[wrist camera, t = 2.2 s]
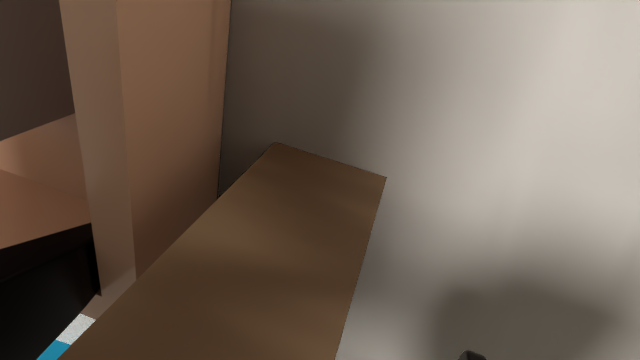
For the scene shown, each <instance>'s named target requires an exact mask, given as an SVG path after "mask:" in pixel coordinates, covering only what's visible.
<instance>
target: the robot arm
mask: <svg viewBox="0 0 640 360" xmlns="http://www.w3.org/2000/svg"><path fill="white" fill-rule="evenodd" d="M100 288H101V286H100V279H99V273H98V266H97V259H96V252H95V245H94V238H93V231H92V224H91V222H90V223H87V224H83V225H80V226H77V227H73V228H70V229H66V230H63V231H60V232H56V233H53V234H49V235H46V236H42V237H39V238H36V239H32V240H29V241H25V242H22V243H19V244H15V245H12V246H8V247H5V248H2V249H0V360H37V359H38V358H39V357H40V355H41V354H42V353H43V352H44V351H45V350H46V349H47V348H48V347H49V346H50V345H51V344H52V343H53V342H54V340H55V339H56V338H57V337H58V336H59V335H60V334H61V333H62V332H63V331H64V330H65V329H66V328H67V327H68V325H69V324H70V323H71V322H72V321H73V320H74V319H75V318H76V317H77V316H78V315H79V314H80V313H81V311H82V310H83V309H84V308H85V307H86V306H87V305H88V303H89V302H90V301H91V300H92V299H93V297H94V296H95V295H96V293H97V292H98V291H99V290H100ZM458 360H486V358H485V357H484V356H482V355H480V354H477V353H474V352H472V351H469V350H465V351H464V352H463V353H462V354H461V356H460V357H459V359H458Z"/></svg>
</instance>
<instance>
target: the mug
mask: <svg viewBox="0 0 640 360" xmlns="http://www.w3.org/2000/svg"><path fill="white" fill-rule="evenodd" d="M70 346H71V345H69V344H66V343H63V342H60V341H57V340H54V342H53V343H52V344H51V345H50V346H49V347H48V348H47V349H46V350H45V351H44V352H43V353H42V354H41V355H40V357H39V358H38V359H37V360H57V359H58V358H59V357H60V356H61V355H62V354H63V353H64V352H65V351H66V350H67V349H68V348H69V347H70Z"/></svg>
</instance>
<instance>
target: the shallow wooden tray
mask: <svg viewBox="0 0 640 360" xmlns="http://www.w3.org/2000/svg"><path fill="white" fill-rule="evenodd" d="M230 7H231V0H0V249H2V248H5V247H8V246H12V245H15V244H19V243H22V242H25V241H29V240H32V239H36V238H39V237H42V236H46V235H49V234H53V233H56V232H60V231H63V230H66V229H70V228H73V227H77V226H80V225H83V224H87V223H90V222H91V224H92V231H93V238H94V245H95V252H96V259H97V266H98V273H99V279H100V286H101V288H100V290H99V291H98V292H97V293H96V295H95V296H94V297H93V299H92V300H91V301H90V302H89V303H88V305H87V306H86V307H85V308H84V309H83V310H82V311H81V314H84V315H86V316H88V317H91V318H93V319H96V320H97V319H98V318H99V317H100V316H101V315H102V314H103V313H104V312H105V311H106V310H107V309H108V308H109V307H110V306H111V305H112V304H113V303H114V302H115V301H116V300H117V299H118V298H119V297H120V296H121V295H122V294H123V293H124V292H125V291H126V290H127V289H128V288H129V287H130V286H131V285H132V284H133V283H134V282H135V281H136V280H137V279H138V278H139V277H140V276H141V275H142V274H143V273H144V272H145V271H146V270H147V269H148V268H149V267H150V266H151V265H152V264H153V263H154V262H155V261H156V260H157V259H158V258H159V257H160V256H161V255H162V254H163V253H164V252H165V251H166V250H167V249H168V248H169V247H170V246H171V245H172V244H173V243H174V242H175V241H176V240H177V239H178V238H179V237H180V236H181V235H182V234H183V233H184V232H185V231H186V230H187V229H188V228H189V227H190V226H191V225H192V224H193V223H194V222H195V221H196V220H197V219H198V218H199V217H200V216H201V215H202V214H203V213H204V212H205V211H206V210H207V209H208V208H209V207H210V206H211V205H212V204H213V203H214V202H215V201H216V200H217V192H218V178H219V163H220V149H221V135H222V121H223V106H224V92H225V78H226V64H227V50H228V35H229V21H230Z"/></svg>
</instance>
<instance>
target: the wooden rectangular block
mask: <svg viewBox="0 0 640 360" xmlns="http://www.w3.org/2000/svg"><path fill="white" fill-rule="evenodd" d="M386 178H387V177H383V176H380V175H377V174H374V173H371V172H368V171H365V170H361V169H358V168H355V167H352V166H349V165H346V164H342V163H339V162H336V161H333V160H330V159H327V158H324V157H320V156H317V155H314V154H311V153H308V152H305V151H302V150H298V149H295V148H292V147H289V146H286V145H283V144H280V143H276V142H275V143H274V144H273V145H272V146H271V147H270V148H269V149H268V150H267V151H266V152H265V153H264V154H263V155H262V156H261V157H260V158H259V159H258V160H257V161H256V162H255V163H254V164H253V165H252V166H251V167H250V168H249V169H248V170H247V171H246V172H245V173H244V174H243V175H242V176H241V177H240V178H239V179H237V180H236V181H235V182H234V183H233V184H232V185H231V186H230V187H229V188H228V189H227V190H226V191H225V192H224V193H223V194H222V195H221V196H220V197H219V198H218V199H217V200H216V201H215V202H214V203H213V204H212V205H211V206H210V207H209V208H208V209H207V210H206V211H205V212H204V213H203V214H202V215H201V216H200V217H199V218H198V219H197V220H196V221H195V222H194V223H193V224H192V225H191V226H190V227H189V228H188V229H187V230H186V231H185V232H184V233H183V234H182V235H181V236H180V237H179V238H178V239H177V240H176V241H175V242H174V243H173V244H172V245H171V246H170V247H169V248H168V249H167V250H166V251H165V252H164V253H163V254H162V255H161V256H160V257H159V258H158V259H157V260H156V261H155V262H154V263H153V264H152V265H151V266H150V267H149V268H148V269H147V270H146V271H145V272H144V273H143V274H142V275H141V276H140V277H139V278H138V279H137V280H136V281H135V282H134V283H133V284H132V285H131V286H130V287H129V288H128V289H127V290H126V291H125V292H124V293H123V294H122V295H121V296H120V297H119V298H118V299H117V300H116V301H115V302H114V303H113V304H112V305H111V306H110V307H109V308H108V309H107V310H106V311H105V312H104V313H103V314H102V315H101V316H100V317H99V318H98V319H97V320H96V321H95V322H94V323H93V324H92V325H91V326H90V327H89V328H88V329H87V330H86V331H85V332H84V333H83V334H82V335H81V336H80V337H79V338H78V339H77V340H76V341H75V342H74V343H73V344H72V345H71V346H70V347H69V348H68V349H67V350H66V351H65V352H64V353H63V354H62V355H61V356H60V357H59V358H58V359H57V360H335V357H336V353H337V350H338V346H339V343H340V339H341V336H342V332H343V329H344V325H345V322H346V318H347V315H348V311H349V308H350V304H351V301H352V297H353V294H354V290H355V287H356V283H357V280H358V276H359V273H360V269H361V266H362V262H363V259H364V255H365V252H366V248H367V245H368V241H369V238H370V234H371V230H372V227H373V223H374V220H375V216H376V213H377V209H378V206H379V202H380V199H381V195H382V192H383V188H384V185H385V181H386Z"/></svg>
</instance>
